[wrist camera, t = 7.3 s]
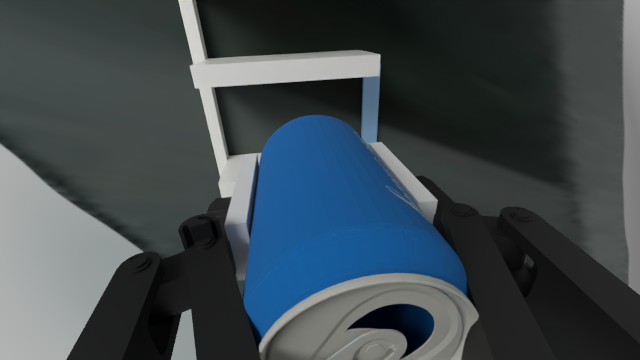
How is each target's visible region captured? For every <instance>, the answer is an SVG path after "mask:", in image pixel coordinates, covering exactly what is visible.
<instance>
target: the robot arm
mask: <svg viewBox="0 0 640 360" xmlns="http://www.w3.org/2000/svg"><path fill="white" fill-rule="evenodd" d="M369 147H370V149H371V150H372V151H373V152H374V154H375V155H376V156H377V157H378V158H379V160H380V161H381V162H382V163H383V165H384V166H385V167H386V168H387V169H388V171H389V172H390V173H391V174H392V176H393V177H394V178H395V179H396V180H397V182H398V183H399V184H400V185H401V187H402V188H403V189H404V190H405V192H406V193H407V194H408V195H409V196H410V198H411V199H412V200H413V201H414V203H415V204H416V205H417V206H418V207H419V209H420V210H421V211H422V212H423V214H424V215H425V216H426V217H427V218H428V220H429V221H430V222H431V223H432V225H433V226H434V227H435V228H436V229H437V231H438V232H439V233H440V234H441V236H442V237H443V238H444V239H445V241H446V242H447V243H448V244H449V245H450V247H451V248H452V249H453V250H454V252H455V253H456V254H457V255H458V257H459V259H460V261H461V263H462V264H463V267H464V269H465V273H466V277H467V293H468V299H469V300H470V301H471V303H472V304H473V306H474V307H475V309H476V311H477V312H478V314H479V317H478V320H477V321H476V322H475V323H474V324H473V325H472V326H471V327H470V329H469V332H468V333H467V336H466V339H465V342H464V347H463V351H462V358H461V360H556V358H557V359H558V360H640V295H639V294H638V293H636V292H635V291H634V290H632V289H631V288H630V287H629V286H627V285H626V284H625V283H624V282H622V281H621V280H620V279H619V278H617V277H616V276H615V275H613V274H612V273H611V272H610V271H608V270H607V269H606V268H605V267H603V266H602V265H601V264H599V263H598V262H597V261H596V260H594V259H593V258H592V257H591V256H589V255H588V254H587V253H585V252H584V251H583V250H582V249H580V248H579V247H578V246H577V245H575V244H574V243H573V242H571V241H570V240H569V239H568V238H566V237H565V236H564V235H563V234H561V233H560V232H559V231H557V230H556V229H555V228H554V227H552V226H551V225H550V224H549V223H547V222H546V221H545V220H543V219H542V218H541V217H540V216H538V215H537V214H535V213H534V212H532V211H529V210H527V209H525V208H520V207H506V208H503V209H502V210H501V212H500V216H499V217H492V216H481V215H480V214H479V212H478V211H477V210H476V209H474V208H473V207H471V206H468V205H465V204H460V203H455V202H453V201H452V200H451V199H450V198H449V197H448V196H447V195H446V194H445V193H444V192H443V191H441V189H440V188H439V187H437V185H436V184H435V183H433V182H432V181H431V180H430V179H428V178H426V177H424V176H416V177H415V176H414V175H413V174H412V173H411V172H410V171H409V170H408V169H407V168H406V167H405V166H404V165H403V164H402V163H401V162H400V161H399V160H398V159H397V158H396V157H395V156H394V155H393V154H392V153H391V151H390V150H389V149H388V148H387V147H386V146H385V145H384V144H383V143H382V142H375V143H369ZM258 172H259V163H258V156H257V153H255V154H244V155H243V157H242V161H241V165H240V169H239V172H238V176H237V180H236V183H235V187H234V191H233V195H232V197H225V198H217V199H216V200H215V201H213V202H212V203H211V204H210V206H209V209H208V211H207V214H202V215H197V216H194V217H192V218H189V219H188V220H186V221H184V222H183V223H182V224H181V225H180V227H179V230H178V231H179V234H180V237H181V240H182V243H183V246H184V248H185V251H183V252H181V253H179V254H177V255H174V256H171V257H168V258H165V259H161V257H160V256H159V254H158V253H155V252H143V253H140V254H137V255H134V256H132V257H130V258H128V259H127V260H126V261H124V262H123V263H122V264H121V265H120V266H119V267H118V269H117V270H116V272H115V274H114V275H113V277H112V279H111V281H110V282H109V284H108V286H107V288H106V290H105V291H104V293H103V295H102V297H101V299H100V300H99V302H98V304H97V306H96V308H95V309H94V311H93V313H92V315H91V317H90V318H89V320H88V322H87V324H86V326H85V328H84V329H83V331H82V333H81V335H80V336H79V338H78V340H77V342H76V344H75V345H74V347H73V349H72V351H71V352H70V354H69V356H68V358H67V360H171V356H172V352H173V347H174V343H175V339H176V334H177V330H178V326H179V322H180V318H181V313H182V312H184V311H186V310H189V309H191V311H192V320H193V330H194V339H195V348H196V357H197V360H261V359H260V356H259V352H258V349H257V346H256V343H255V339H254V336H253V333H252V330H251V326H250V323H249V320H248V317H247V313H246V310H245V307H244V304H243V300H242V297H241V294H240V291H239V287H238V284H237V281H236V278H235V274H237V278H238V281H240V280H245V276H246V268H247V260H248V252H249V244H250V236H251V228H252V220H253V212H254V204H255V196H256V188H257V180H258ZM528 256H529V257H530V258H531V259H532V260H533V261H534V265H533V267H530V266H529V265H528V264H527V263H526V261H527V259H528ZM554 355H555V356H556V358H555V356H554Z"/></svg>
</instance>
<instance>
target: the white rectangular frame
mask: <svg viewBox="0 0 640 360" xmlns="http://www.w3.org/2000/svg"><path fill="white" fill-rule="evenodd" d="M178 1H179V5H180V9H181V14H182V18H183V22H184V26H185V30H186V35H187V39H188V43H189V47H190V52H191V56H192V60H193V65H191V66H190V69H191V73H192V77H193V82H194V86H195V88H199V90H200V94H201V98H202V102H203V106H204V111H205V115H206V119H207V123H208V127H209V132H210V136H211V140H212V144H213V149H214V153H215V157H216V161H217V165H218V170H219V174H220V180H219V183H218V184H219V188H220V192H221V196H222V198H225V197H232V195H233V191H234V187H235V183H236V180H237V176H238V172H239V169H240V165H241V161H242V157H243V155H244V154H243V155H232V156H229V155H228V150H227V145H226V141H225V136H224V131H223V127H222V122H221V117H220V112H219V108H218V103H217V98H216V94H215V89H214V87H225V86H239V85H254V84H269V83H283V82H298V81H313V80H328V79H342V78H357V77H372V76H379V71H380V54H376V53H372V52H367V51H362V50H347V51H330V52H312V53H295V54H278V55H260V56H243V57H226V58H208V56H207V51H206V47H205V42H204V37H203V32H202V28H201V23H200V18H199V14H198V9H197V4H196V0H178ZM254 154H255V153H254ZM261 154H262V153H257V156H258V163H259V164H260V158H261Z"/></svg>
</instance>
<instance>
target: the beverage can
mask: <svg viewBox="0 0 640 360" xmlns="http://www.w3.org/2000/svg"><path fill="white" fill-rule="evenodd" d="M243 304H244V307H245V310H246V313H247V317H248V320H249V323H250V326H251V330H252V333H253V336H254V339H255V343H256V346H257V349H258V352H259V356H260V359H261V360H461V358H462V351H463V347H464V342H465V339H466V336H467V333H468V332H469V329H470V327H471V326H472V325H473V324H474V323H475V322H476V321H477V320H478V317H479V314H478V312H477V311H476V309H475V307H474V306H473V304H472V303H471V301H470V300H469V299H468V293H467V277H466V273H465V269H464V267H463V264H462V263H461V261H460V259H459V257H458V255H457V254H456V253H455V252H454V250H453V249H452V248H451V247H450V245H449V244H448V243H447V242H446V241H445V239H444V238H443V237H442V236H441V234H440V233H439V232H438V231H437V229H436V228H435V227H434V226H433V225H432V223H431V222H430V221H429V220H428V218H427V217H426V216H425V215H424V214H423V212H422V211H421V210H420V209H419V207H418V206H417V205H416V204H415V203H414V201H413V200H412V199H411V198H410V196H409V195H408V194H407V193H406V192H405V190H404V189H403V188H402V187H401V185H400V184H399V183H398V182H397V180H396V179H395V178H394V177H393V176H392V174H391V173H390V172H389V171H388V169H387V168H386V167H385V166H384V165H383V163H382V162H381V161H380V160H379V158H378V157H377V156H376V155H375V154H374V152H373V151H372V150H371V149H370V147H369V146H368V145H367V144H366V143H365V141H364V140H363V139H362V138H361V136H360V135H359V134H358V133H357V132H356V130H354V129H353V128H352V127H351V126H350V125H348V124H347V123H345V122H344V121H341V120H339V119H337V118H334V117H331V116H325V115H308V116H303V117H299V118H297V119H294V120H291V121H290V122H288V123H286V124H284V125H283V126H281V127H280V128H279V129H278V130H277V131H275V132H274V133H273V135H272V136H271V137H270V138H269V139H268V141H267V143H266V144H265V146H264V149H263V151H262V154H261V158H260V164H259V172H258V180H257V188H256V196H255V204H254V212H253V220H252V228H251V236H250V244H249V252H248V260H247V268H246V276H245V284H244V292H243Z"/></svg>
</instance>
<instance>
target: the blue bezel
mask: <svg viewBox="0 0 640 360" xmlns="http://www.w3.org/2000/svg"><path fill="white" fill-rule="evenodd" d="M380 69H381V65H380ZM379 87H380V71H379V76H372V77H363V82H362V120H361V138H362V139H363V140H364V141H365V143H366V144H367V145H368V146H369V143H375V142H377V124H378V106H379Z"/></svg>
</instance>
